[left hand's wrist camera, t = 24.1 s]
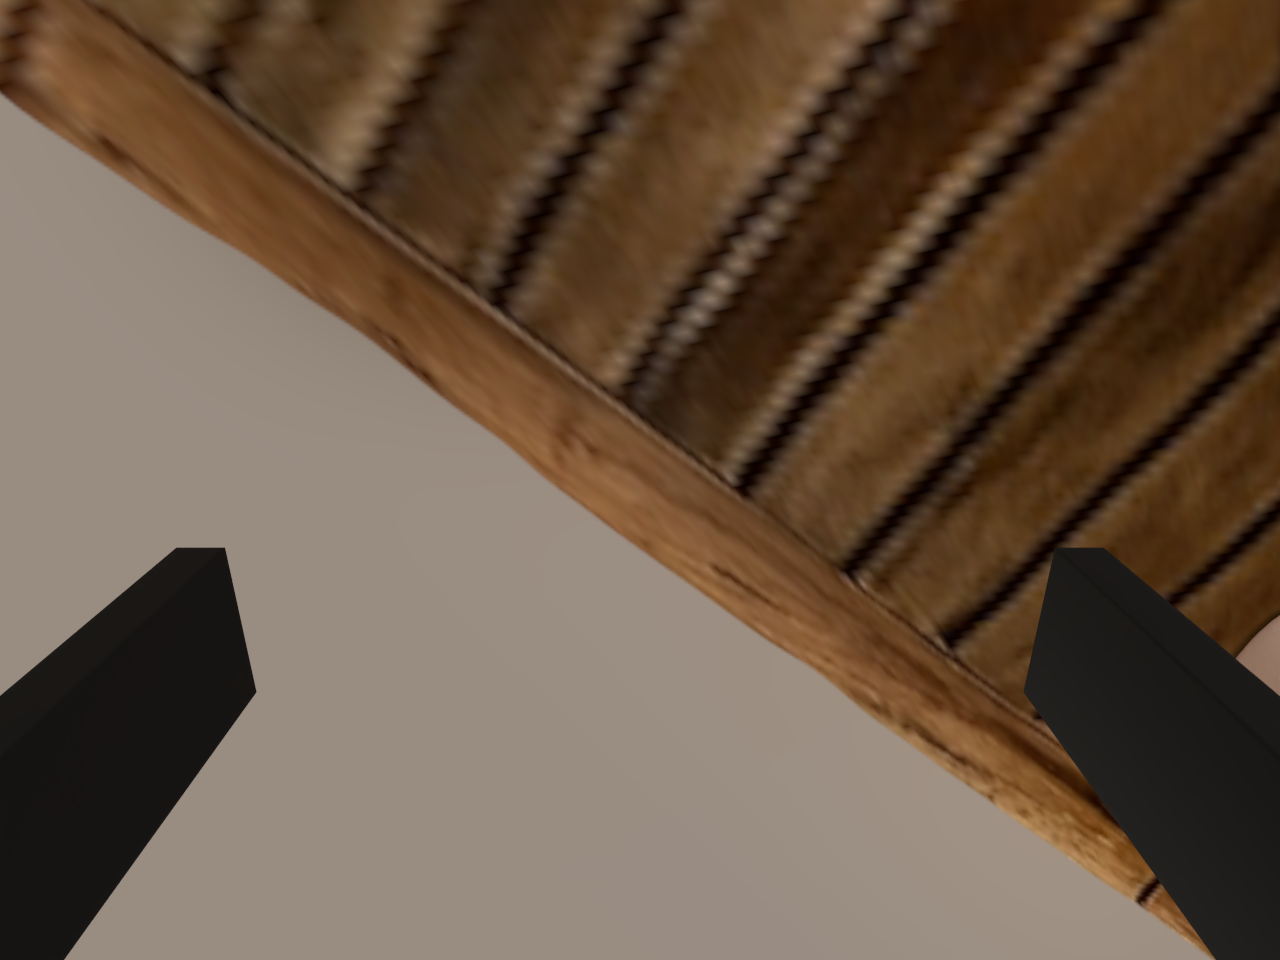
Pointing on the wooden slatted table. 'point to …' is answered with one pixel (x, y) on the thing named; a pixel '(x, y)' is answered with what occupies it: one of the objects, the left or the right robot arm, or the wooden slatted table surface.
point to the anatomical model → (1264, 655)
